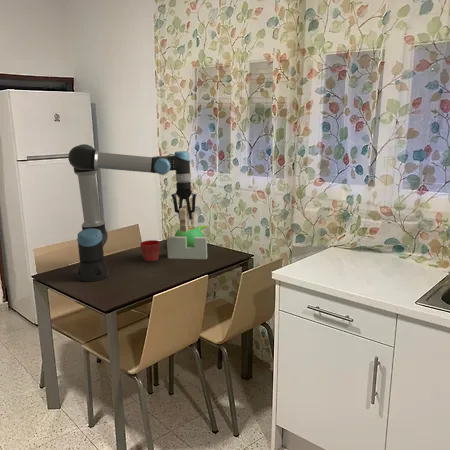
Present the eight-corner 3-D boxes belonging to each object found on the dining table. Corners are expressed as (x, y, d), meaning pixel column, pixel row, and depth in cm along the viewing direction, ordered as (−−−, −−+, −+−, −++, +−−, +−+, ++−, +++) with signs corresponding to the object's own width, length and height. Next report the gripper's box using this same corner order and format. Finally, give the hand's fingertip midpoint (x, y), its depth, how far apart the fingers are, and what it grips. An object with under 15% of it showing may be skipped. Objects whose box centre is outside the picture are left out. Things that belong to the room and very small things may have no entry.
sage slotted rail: (167, 258, 257) (166, 237, 254) (169, 256, 260) (168, 236, 257) (206, 259, 253) (205, 238, 250) (207, 257, 256) (206, 237, 253)
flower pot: (137, 259, 256) (136, 242, 254) (154, 255, 263) (153, 238, 261) (147, 263, 248) (146, 246, 246) (164, 259, 255) (163, 242, 253)
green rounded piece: (169, 249, 274) (168, 225, 270) (187, 243, 287) (186, 220, 284) (192, 254, 263) (191, 229, 260) (210, 247, 277) (209, 223, 273)
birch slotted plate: (189, 223, 256) (188, 202, 254) (194, 223, 256) (193, 202, 253) (180, 231, 237) (179, 209, 235) (185, 231, 237) (184, 209, 234)
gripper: (166, 182, 235) (169, 227, 240) (196, 182, 232) (199, 227, 238) (170, 180, 242) (172, 223, 247) (200, 180, 239) (202, 223, 245)
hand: (185, 225), depth 242 cm, fingers closed on birch slotted plate, 3 cm apart
